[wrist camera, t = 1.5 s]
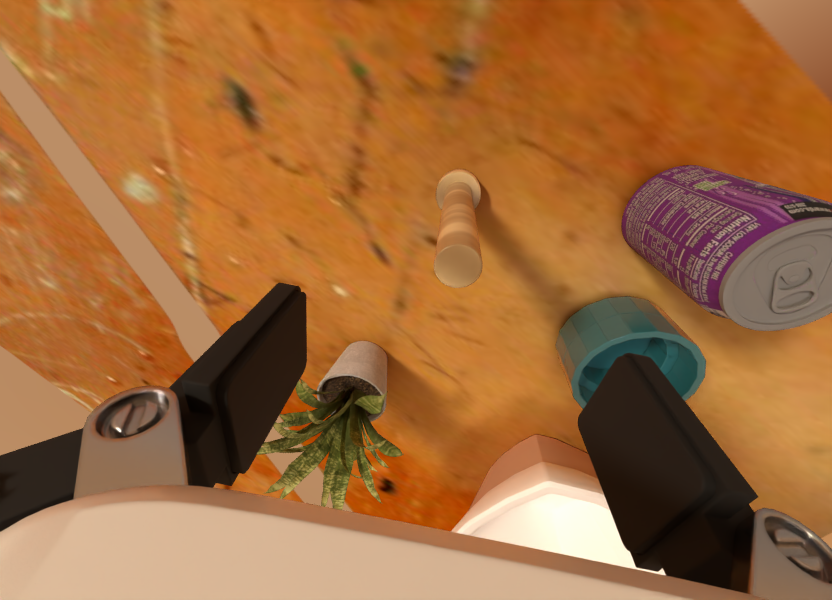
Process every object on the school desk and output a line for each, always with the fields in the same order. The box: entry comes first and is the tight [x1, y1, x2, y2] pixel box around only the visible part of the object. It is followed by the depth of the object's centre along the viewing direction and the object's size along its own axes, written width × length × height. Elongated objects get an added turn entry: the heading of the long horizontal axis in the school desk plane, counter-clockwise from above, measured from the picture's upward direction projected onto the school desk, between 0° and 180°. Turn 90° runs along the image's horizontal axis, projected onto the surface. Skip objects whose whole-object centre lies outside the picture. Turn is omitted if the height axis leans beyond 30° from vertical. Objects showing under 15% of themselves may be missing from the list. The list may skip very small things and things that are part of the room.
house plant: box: [257, 341, 403, 510], centre depth 30 cm, size 14×14×16 cm
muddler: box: [434, 169, 482, 288], centre depth 21 cm, size 4×4×15 cm
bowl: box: [451, 435, 666, 575], centre depth 41 cm, size 24×25×11 cm
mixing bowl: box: [556, 296, 706, 409], centre depth 30 cm, size 10×10×6 cm
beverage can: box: [622, 165, 832, 331], centre depth 21 cm, size 7×7×12 cm
